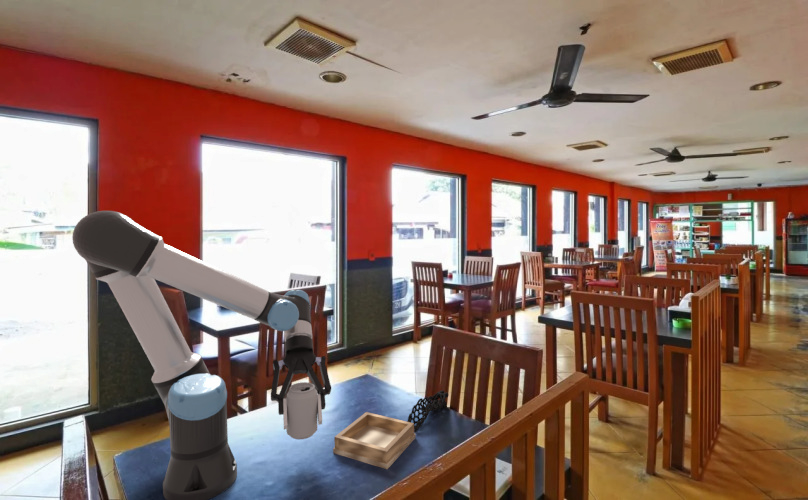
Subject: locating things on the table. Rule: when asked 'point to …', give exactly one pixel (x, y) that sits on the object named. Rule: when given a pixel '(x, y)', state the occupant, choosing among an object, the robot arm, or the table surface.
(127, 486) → the table surface
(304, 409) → the can
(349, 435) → the wooden tray
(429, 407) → the decorative element
